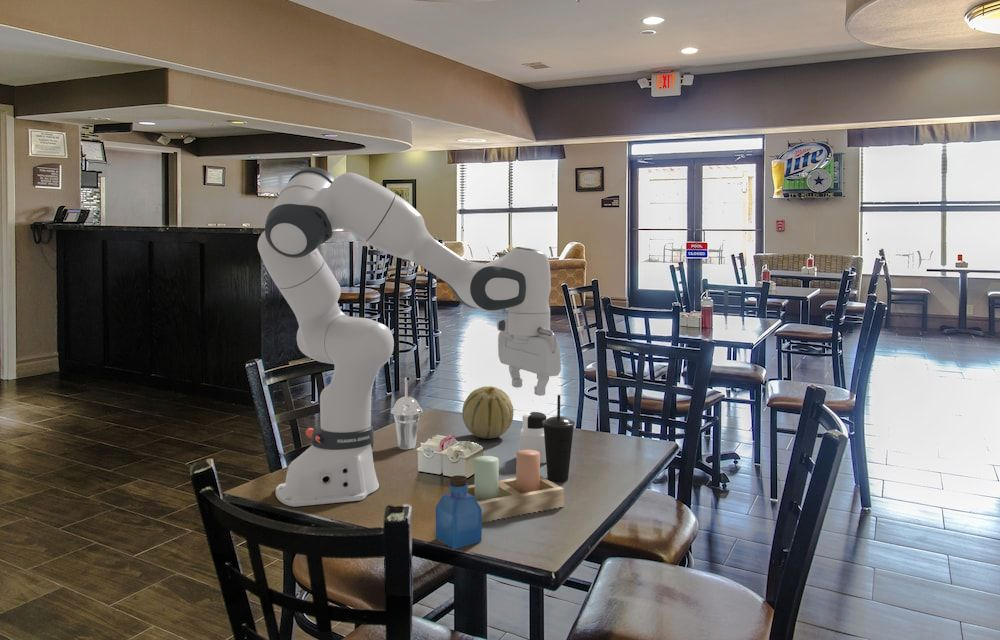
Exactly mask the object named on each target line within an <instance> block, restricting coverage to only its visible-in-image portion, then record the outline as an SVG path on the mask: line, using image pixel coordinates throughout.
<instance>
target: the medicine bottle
mask: <svg viewBox="0 0 1000 640" xmlns="http://www.w3.org/2000/svg"><path fill="white" fill-rule="evenodd" d="M545 419H547V415H546V414H545V413H543V412H539V411H538V412H537V411H529V412H526V413H524V414H523V415H522V428H521V429H520V434H519V436H518V437H519V441H518V443H519V445H518V448H519V450H518V451H520V450H535V451H538V452H540V464H545V463H546V451H545V439H544V426H543V424H542V421H543V420H545Z"/></svg>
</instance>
